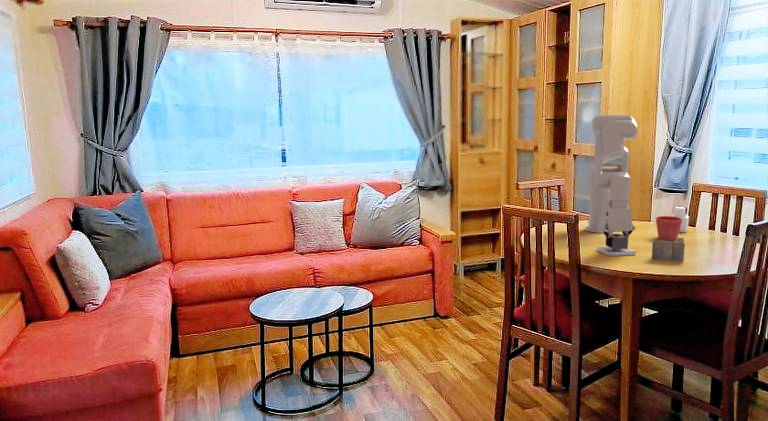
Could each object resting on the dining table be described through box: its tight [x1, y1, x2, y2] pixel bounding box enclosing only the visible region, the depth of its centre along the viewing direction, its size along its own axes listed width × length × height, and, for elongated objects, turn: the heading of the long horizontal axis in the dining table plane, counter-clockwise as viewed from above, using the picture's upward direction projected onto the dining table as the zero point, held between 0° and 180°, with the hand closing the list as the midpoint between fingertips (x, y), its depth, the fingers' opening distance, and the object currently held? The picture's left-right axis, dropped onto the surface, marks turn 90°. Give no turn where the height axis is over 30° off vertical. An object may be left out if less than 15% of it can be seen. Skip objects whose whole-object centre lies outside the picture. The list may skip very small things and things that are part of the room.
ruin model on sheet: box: [651, 237, 686, 262], centre depth 230 cm, size 11×3×10 cm, turn 72°
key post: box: [596, 246, 637, 257], centre depth 242 cm, size 10×12×6 cm
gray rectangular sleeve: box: [605, 233, 629, 249], centre depth 242 cm, size 7×6×5 cm
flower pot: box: [655, 215, 682, 241], centre depth 267 cm, size 11×11×10 cm
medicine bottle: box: [671, 205, 690, 233], centre depth 284 cm, size 7×7×12 cm
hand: (616, 245), depth 242 cm, fingers closed on gray rectangular sleeve, 5 cm apart
